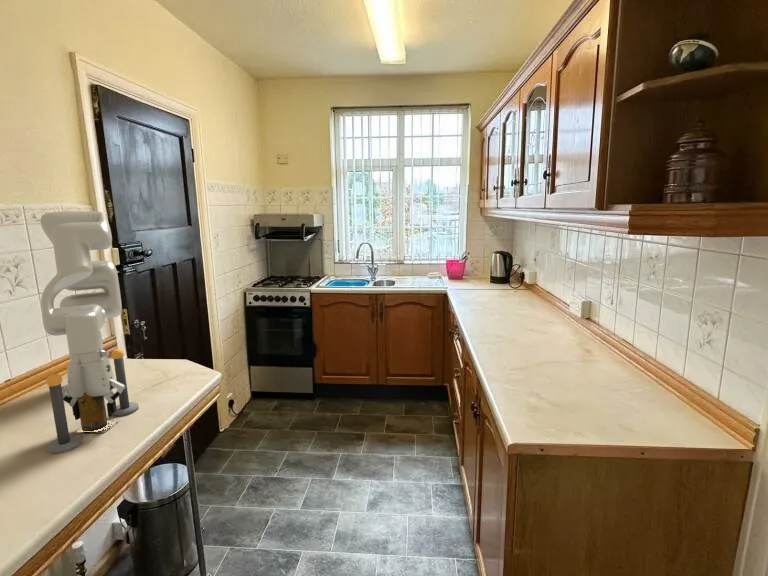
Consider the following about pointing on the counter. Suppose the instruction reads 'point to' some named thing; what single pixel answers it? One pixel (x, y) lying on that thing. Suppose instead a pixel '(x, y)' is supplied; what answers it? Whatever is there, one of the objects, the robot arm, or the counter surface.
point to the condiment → (93, 413)
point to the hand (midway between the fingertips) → (95, 415)
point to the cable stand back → (124, 405)
